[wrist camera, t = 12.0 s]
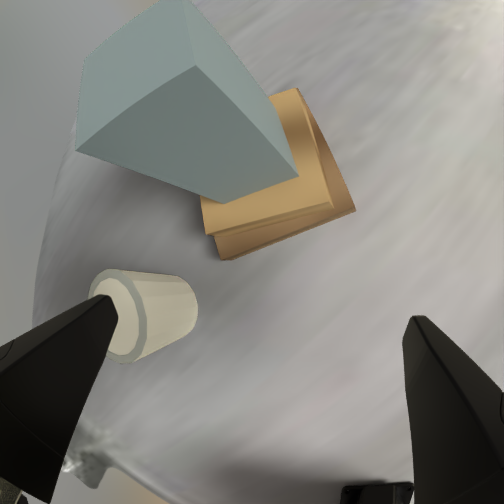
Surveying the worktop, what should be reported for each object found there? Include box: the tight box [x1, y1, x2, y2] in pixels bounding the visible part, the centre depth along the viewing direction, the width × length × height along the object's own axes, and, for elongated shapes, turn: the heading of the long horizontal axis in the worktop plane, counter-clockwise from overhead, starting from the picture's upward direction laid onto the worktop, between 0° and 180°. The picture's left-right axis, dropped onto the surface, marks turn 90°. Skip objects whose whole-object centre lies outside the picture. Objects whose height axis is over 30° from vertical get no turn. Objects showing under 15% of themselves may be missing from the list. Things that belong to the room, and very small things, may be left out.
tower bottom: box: [214, 88, 356, 260], centre depth 21 cm, size 10×10×2 cm
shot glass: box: [87, 269, 198, 364], centre depth 21 cm, size 7×7×7 cm
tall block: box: [75, 0, 299, 204], centre depth 12 cm, size 5×5×11 cm
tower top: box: [200, 88, 334, 237], centre depth 19 cm, size 8×8×2 cm
